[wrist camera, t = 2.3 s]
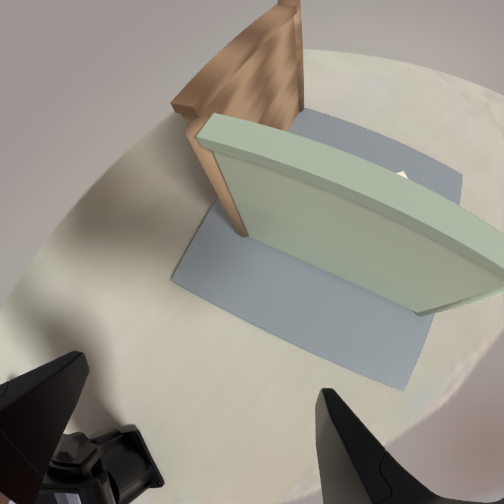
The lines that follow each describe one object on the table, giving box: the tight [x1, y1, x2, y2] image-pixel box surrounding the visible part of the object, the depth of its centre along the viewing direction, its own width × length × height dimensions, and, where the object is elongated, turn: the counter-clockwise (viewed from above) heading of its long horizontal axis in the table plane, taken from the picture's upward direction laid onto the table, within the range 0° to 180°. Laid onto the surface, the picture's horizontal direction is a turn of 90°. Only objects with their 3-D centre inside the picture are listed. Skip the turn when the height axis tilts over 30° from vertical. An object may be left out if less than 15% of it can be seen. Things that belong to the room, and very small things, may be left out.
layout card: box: [171, 108, 463, 391], centre depth 24 cm, size 23×22×1 cm
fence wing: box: [185, 113, 504, 316], centre depth 16 cm, size 2×18×14 cm, turn 62°
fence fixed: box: [171, 0, 304, 132], centre depth 21 cm, size 16×2×14 cm, turn 153°
